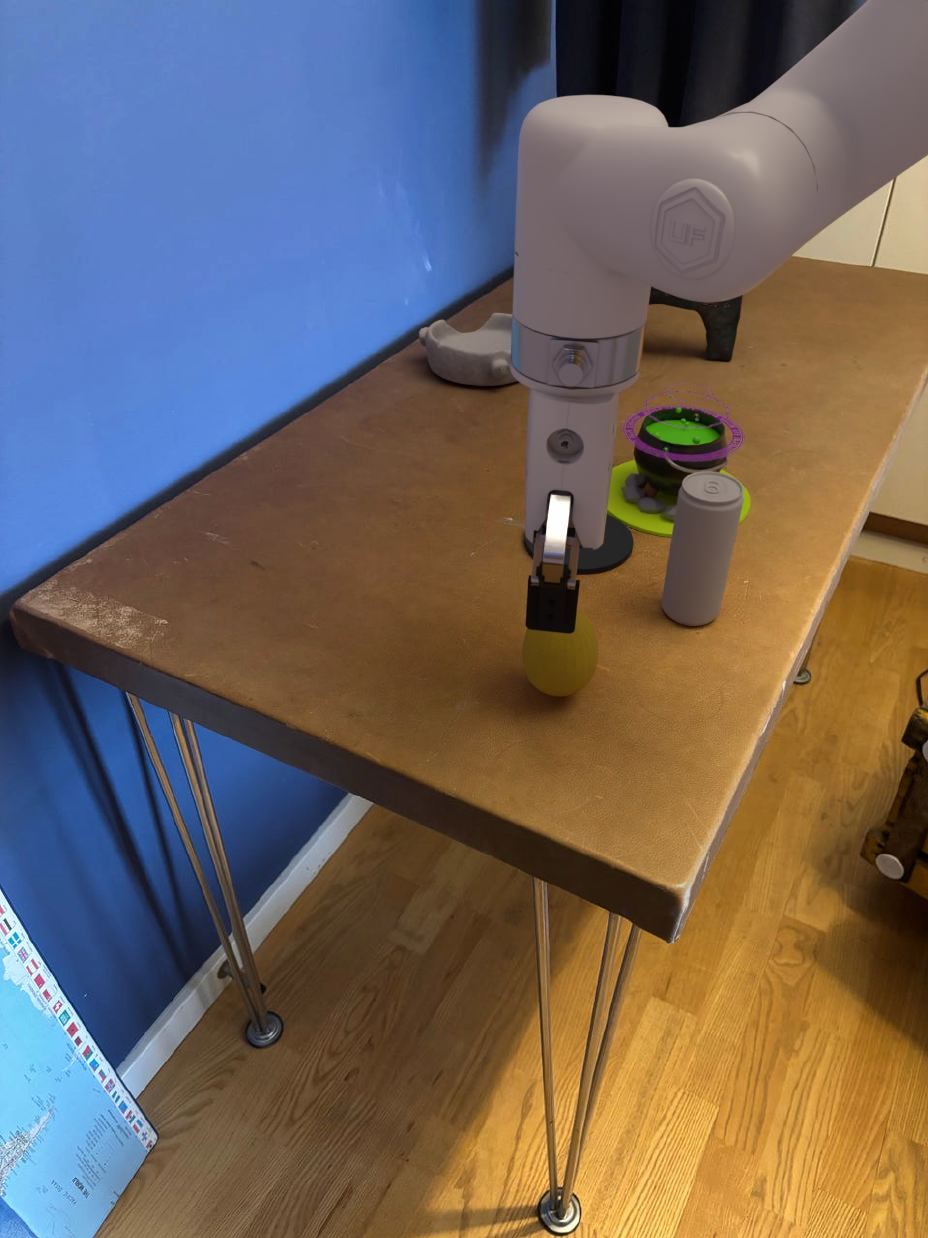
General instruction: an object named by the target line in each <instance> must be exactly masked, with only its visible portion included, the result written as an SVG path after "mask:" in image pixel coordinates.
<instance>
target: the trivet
mask: <svg viewBox="0 0 928 1238" xmlns="http://www.w3.org/2000/svg"><path fill="white" fill-rule="evenodd" d="M523 537H524V539H523V541H524V547H525V549H526V551H527V553H528V554H529V555H530V556H531V558H533V556H534V547H535V541H534V544H532V543H531V542H530V541H529V540H528V539H527V538H526V536H525V535H524V536H523ZM592 549H593V548H583V547H582V548H579V556H578V566H577V575H592V574H598V573H603V572H607V571H610V570H613V569H616V568H618V567H619V566H621V565H622V564H624V563H625V562H626V561H627V560H628V559H629V558H630V557H631V554H632V552H633V549H634V536H633V534H632V532H631V530H630V529H629V527H628V526H627V525H625V524H623V523H622V522H621V521H619V520H618V519H616V518H614V517H612V516H611V515H609V514H607V516H606V524H605V533H604V541H603V544H602V545H601V546H600V547H599V548H598V549H596V550H592ZM570 552H571V548H566V550H565V561H564V564H568V567H569V561H570ZM543 553H544V548H543ZM542 562H543V558H542Z"/></svg>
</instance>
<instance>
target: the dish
mask: <svg viewBox="0 0 928 1238" xmlns="http://www.w3.org/2000/svg"><path fill="white" fill-rule="evenodd" d="M511 332H512V313H503V312H494V313H492V314H491V316H490V317H489V318H488V319H487V321H486V322H485V323H484V324H483V325H482V326H481V327H480V328H478V329H476V330H475V331H470V332H461V331H460V332H459V331H458V330H456V329H454V328H453V327H451V325H449V324H448V323H447V321H446V320H445V319H439V320H436V321H434V322H432V323H431V324H430V325H429V326H425V327H422V328H420V330H419V331H418V337H419V338H418V339H419V342H420V345H421V346H423V347H425V350H426V356H427V361H428V364H429V367H430V369H431V371H432V372H433V373H434V374H435V375H437V376H439V378H442V379H444V380H447V381H449V382H453V383H456V384H462V385H468V386H478V387H479V386H481V387H494V386H504V385H508V384H512V383H515V382H518V381H517V380H516V379H515V378H514V376H513V375H512V373H511V370H510V359H511Z"/></svg>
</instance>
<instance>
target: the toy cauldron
mask: <svg viewBox="0 0 928 1238" xmlns="http://www.w3.org/2000/svg"><path fill="white" fill-rule="evenodd" d="M675 384H676V385H674V383H672V384H671V386H668V387H666V388H665V389H664V391H663V392H662V393H660V392H659V393H658V392H657V393H655V394H653V395H652V396H648V398H647V399H646V400H645V401H644V403H643V409H640V410H638V411H636V412H633V413H631V414H630V415H628V416H627V417H625V419H624V421H623V422H622V424H621V428H622V429H621V433H622V434H623V437H624V439H626V441H627V442H628V443H630V444H631V445H633V448H634V449H633V456H634V459H631V460H629V461H626V462H623V463H620V464H618V465H616V466H613V467H612V475H611V483H610V492H609V500H608V508H607V515H610V516H612V517H614V518H616V519H618V520H619V521H621V522H622V523H623V524H624V525H626V527H628V528H631V529H634V530H636V531H640V532H642V533H646V534H650V535H654V536H659V537H666V538H672V531H673V525H674V519H675V513H676V506H677V500H678V494H679V490H680V488H681V486H682V482H683V480H684V478H685V477H687V476H688V475H690V474H692V473H696V472H703V471H711V472H719V473H723V474H726V475H729V476H731V477H733V478H735V479H737V478H736V477H735V476H733V475H732V474H731V473H728V472H727V471H725V470H723V468H724V467H726V466H728V465H729V456H731V455H732V454H733V453H735V452H738V451H739V449H740V448H741V447H742V446H743V445H744V443H745V440H746V434H745V431H744V429H743V428H742V427H741V426H740V424H738V422H736V421H735V420H733V419H731V418H730V415H731V411H730V410H729V409H730V408H729V406H728V405H727V404H726V403H724V402H723V401H722V400H720V399H719V398H717V397H715V396H714V394H713V391H712V390H711V389H710V388H709V387H707V386H705V385H702V384H701V385H700V386H699V385H698V388H699V387H700V388H701V387H703V388H704V390H705V391H706V392H707V394H705V393H703V392H698V391H691V390H685V391H684V393H692V394H698V395H702V396H706V397H705V399H706V400H704V398H703V399H698V400H696V403H697V404H698V403H704V402H707V401H708V400H710V399H713V400H715V401H716V402H719V403H720V402H721V403H722V404H723V405H722V406H723V407H724V409H725V411H726V412H725V415H723V414H722V413H719V412H716V411H714V410H711V409H707V408H703V407H700V406H699V407H697V406H693V405H692V406H691V405H684V404H679V405H678V404H677V405H675V404H673V406H669V404H666V405H665V404H664V405H660V406H659V407H658V405H656V406H650V407H647V406H648V402H650V401H651V400H652V399H653V398H655V397H658V396H661V395H666V396H667V397H668V398H670V399H674V400H675V401H677V402H681V403H682V402H684V403H688V400H684V399H677V398H676V397H675V396H673V394H672V391H671V389H672V388H673V387H677V386H678V385H680V386H681V385H682V386H683V385H689V386H697V384H696V383H694V382H690V383H688V382H678V383H677V382H675ZM675 393H683V390H675ZM710 393H711V394H710ZM692 403H695V400H692ZM643 417H644V419H643V421H642V423H641V426H640V428H639V431H638V434H637V433H636V429H635V428H636V427H635V426H636V424H637V423H638V421H639V420H641V419H642V418H643ZM724 424H725V425H724ZM726 426H727V427H728V429H729V431H731V435H732V437H731V439H730V441H729V443H728V440H727V437H726ZM738 481H739V482H740V483H741V484H742V486H743V490H744V492H743V498H744V500H743V505H742V510H741V515H740V520H739V524H738V526H739V525H740V524H742V523H743V522H744V520H745V519H747V517H748V516H749V513H750V511H751V502H752V501H751V496H750V493H749V491H748V489H747V488H746V487H745V485H744V484H743V483H742V482H741V481H740V480H738Z"/></svg>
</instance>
